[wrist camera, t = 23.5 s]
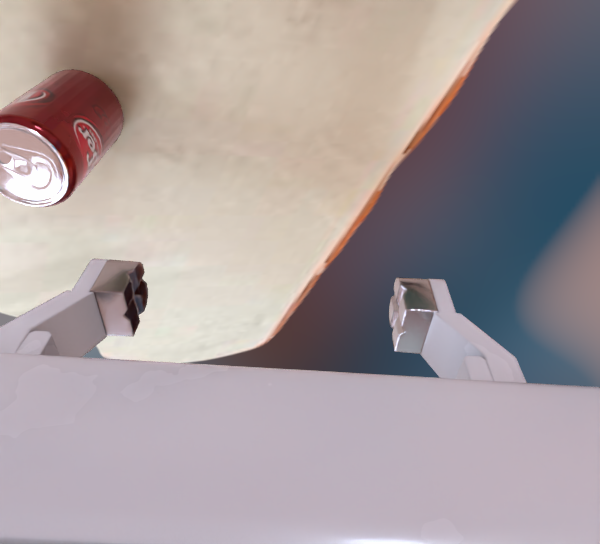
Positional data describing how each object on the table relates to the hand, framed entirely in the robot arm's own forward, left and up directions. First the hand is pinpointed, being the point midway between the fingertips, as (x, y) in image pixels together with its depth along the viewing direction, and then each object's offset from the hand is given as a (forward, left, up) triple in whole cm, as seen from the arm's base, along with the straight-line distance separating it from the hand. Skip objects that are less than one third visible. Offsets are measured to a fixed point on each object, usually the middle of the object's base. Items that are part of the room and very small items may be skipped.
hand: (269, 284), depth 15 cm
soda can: (-4, -20, -31) cm, 37 cm away
